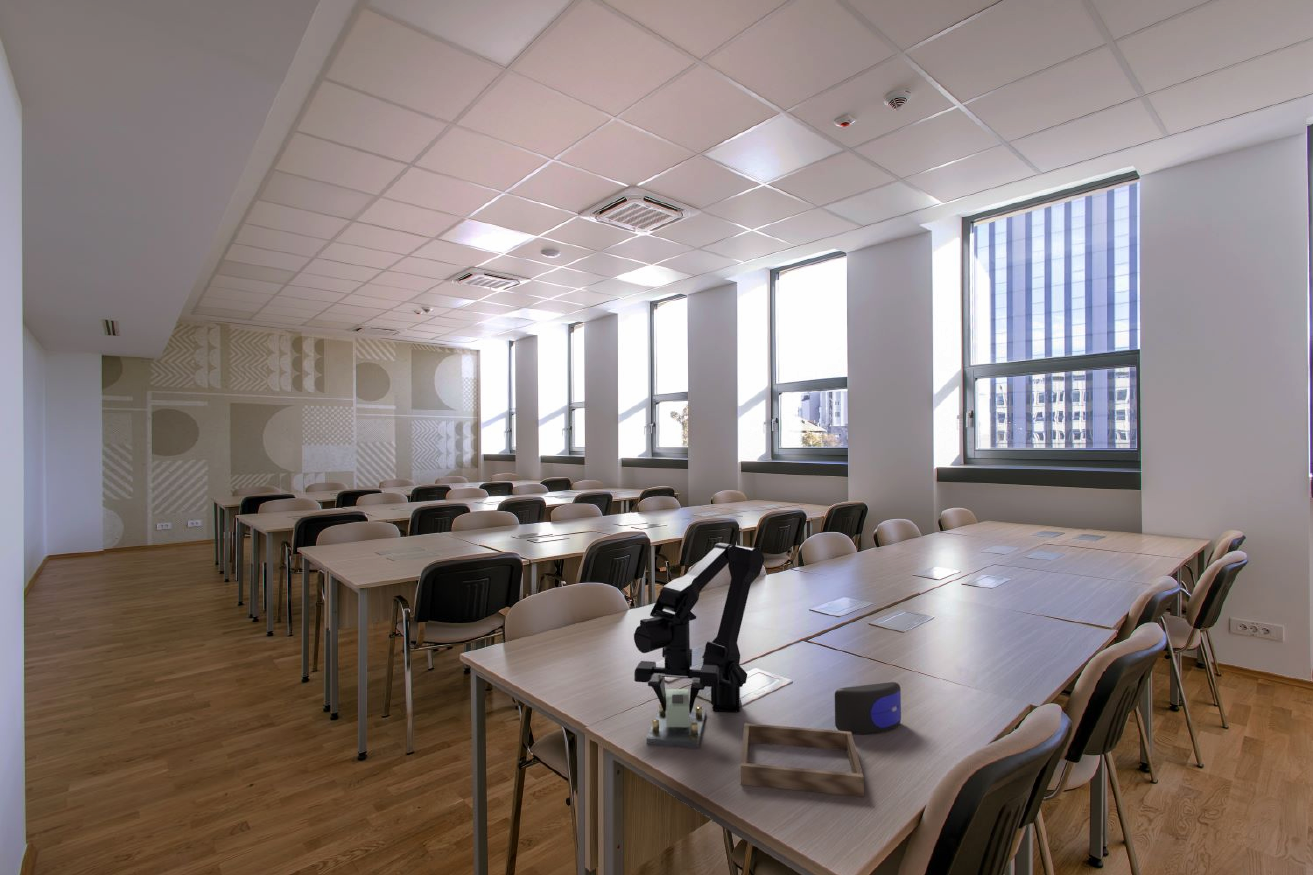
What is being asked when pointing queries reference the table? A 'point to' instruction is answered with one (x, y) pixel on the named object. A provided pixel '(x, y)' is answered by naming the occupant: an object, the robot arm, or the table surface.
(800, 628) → the table surface
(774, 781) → the storage tray
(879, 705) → the black and blue case
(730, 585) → the robot arm
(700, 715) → the chassis
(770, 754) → the table surface
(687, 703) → the pale green block
